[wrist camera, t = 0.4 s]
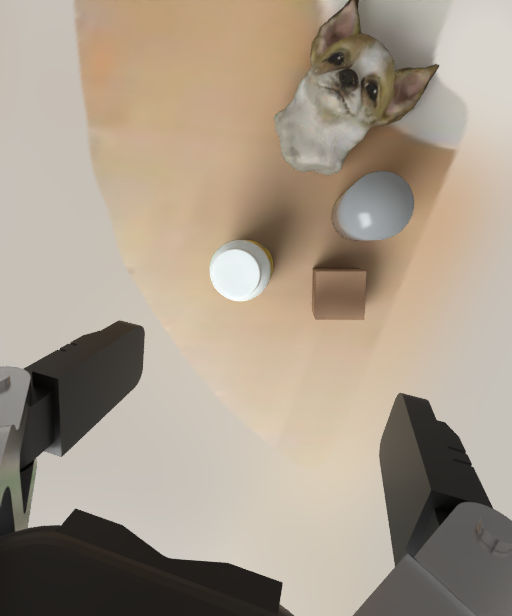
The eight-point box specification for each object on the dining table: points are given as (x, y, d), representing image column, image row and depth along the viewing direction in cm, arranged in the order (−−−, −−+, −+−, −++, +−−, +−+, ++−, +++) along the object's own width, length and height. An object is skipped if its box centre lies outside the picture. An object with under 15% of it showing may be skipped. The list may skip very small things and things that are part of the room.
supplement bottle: (216, 250, 37) (191, 252, 28) (264, 232, 36) (255, 228, 27) (233, 297, 38) (215, 315, 28) (280, 281, 37) (277, 294, 28)
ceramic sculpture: (234, 107, 26) (369, -76, 24) (244, 144, 35) (344, 11, 33) (343, 198, 27) (483, 27, 25) (325, 213, 35) (429, 86, 33)
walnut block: (312, 268, 37) (316, 271, 32) (356, 268, 36) (366, 271, 32) (312, 310, 37) (315, 319, 33) (355, 310, 37) (364, 319, 33)
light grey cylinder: (332, 189, 35) (346, 171, 26) (383, 188, 35) (416, 170, 26) (330, 241, 36) (344, 240, 27) (381, 240, 35) (411, 239, 27)
